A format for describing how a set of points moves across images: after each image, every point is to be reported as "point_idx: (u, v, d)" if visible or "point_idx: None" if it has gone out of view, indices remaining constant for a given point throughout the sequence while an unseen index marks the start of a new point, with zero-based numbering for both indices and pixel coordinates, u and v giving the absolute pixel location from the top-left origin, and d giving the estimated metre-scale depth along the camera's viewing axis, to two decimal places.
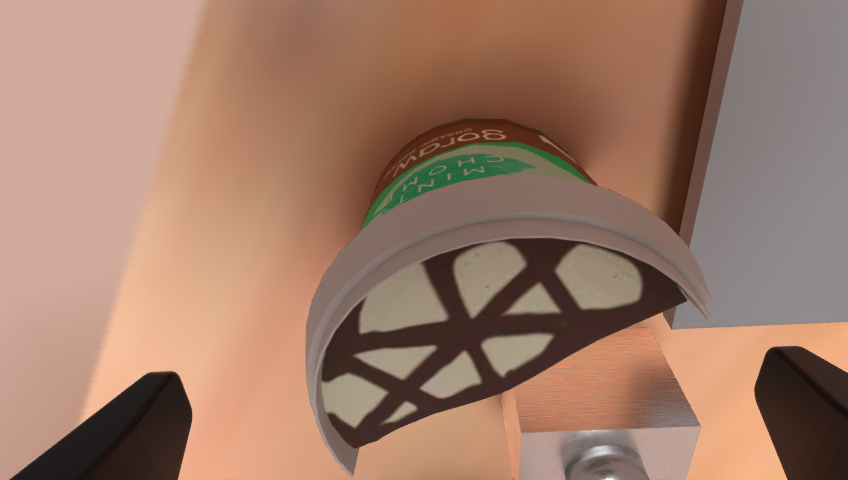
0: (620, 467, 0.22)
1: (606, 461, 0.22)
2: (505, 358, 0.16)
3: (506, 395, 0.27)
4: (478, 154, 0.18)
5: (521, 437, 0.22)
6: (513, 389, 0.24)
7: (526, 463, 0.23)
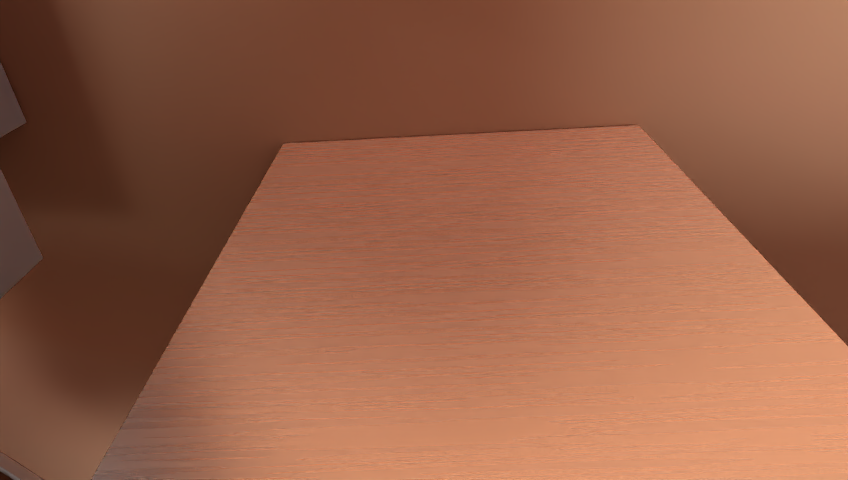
0: None
1: None
2: None
3: None
4: None
5: None
6: None
7: None
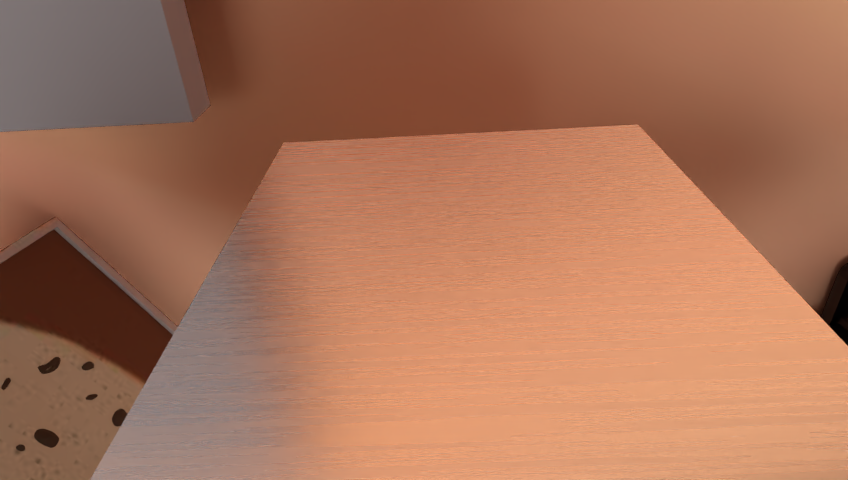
0: None
1: None
2: None
3: None
4: None
5: None
6: None
7: None
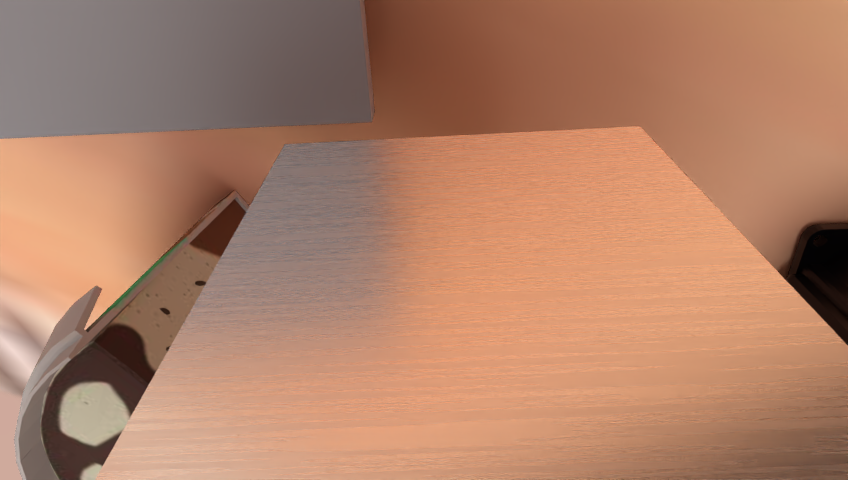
0: None
1: None
2: None
3: None
4: None
5: None
6: None
7: None
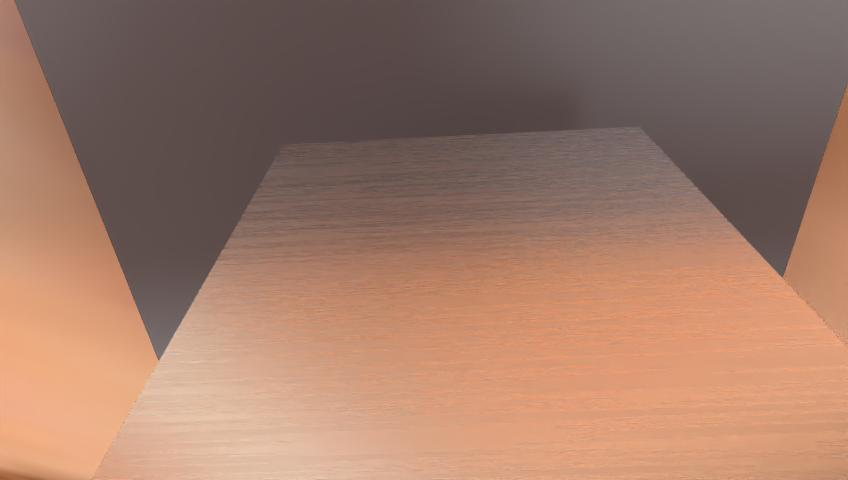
0: None
1: None
2: None
3: None
4: None
5: None
6: None
7: None
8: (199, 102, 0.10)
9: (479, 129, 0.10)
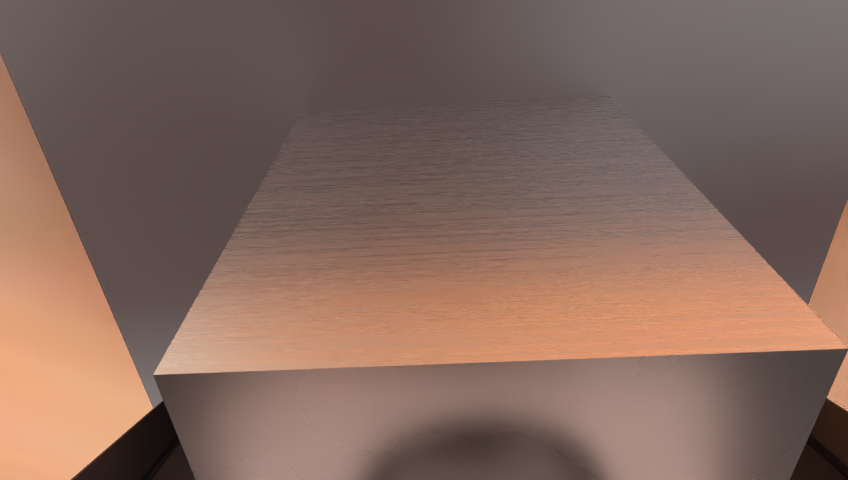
0: None
1: None
2: None
3: None
4: None
5: None
6: None
7: None
8: (184, 120, 0.09)
9: None
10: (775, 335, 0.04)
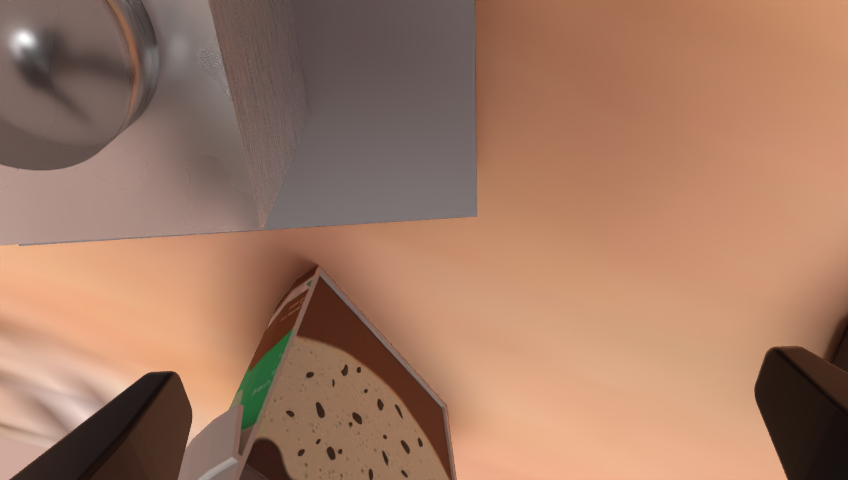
0: None
1: None
2: None
3: None
4: None
5: (4, 243, 0.10)
6: None
7: (84, 226, 0.10)
8: None
9: None
10: None
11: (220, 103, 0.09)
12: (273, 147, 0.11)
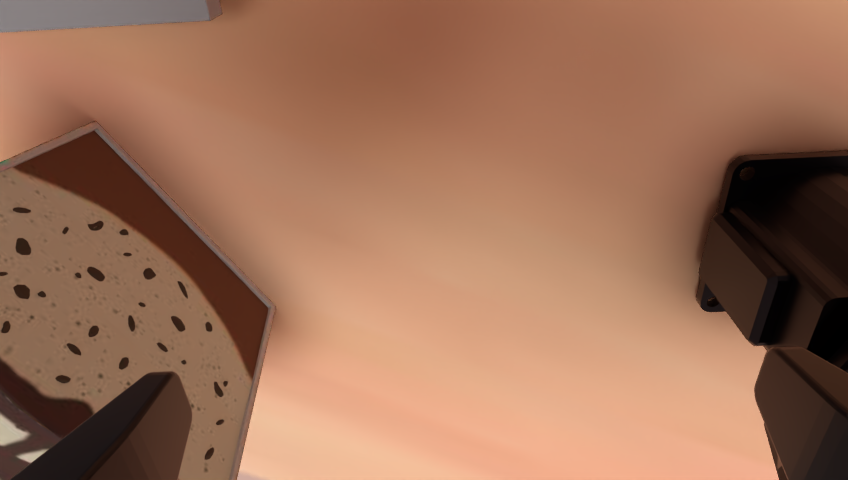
0: None
1: None
2: (4, 429, 0.13)
3: None
4: None
5: None
6: None
7: None
8: None
9: None
10: None
11: None
12: None
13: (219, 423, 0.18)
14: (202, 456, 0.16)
